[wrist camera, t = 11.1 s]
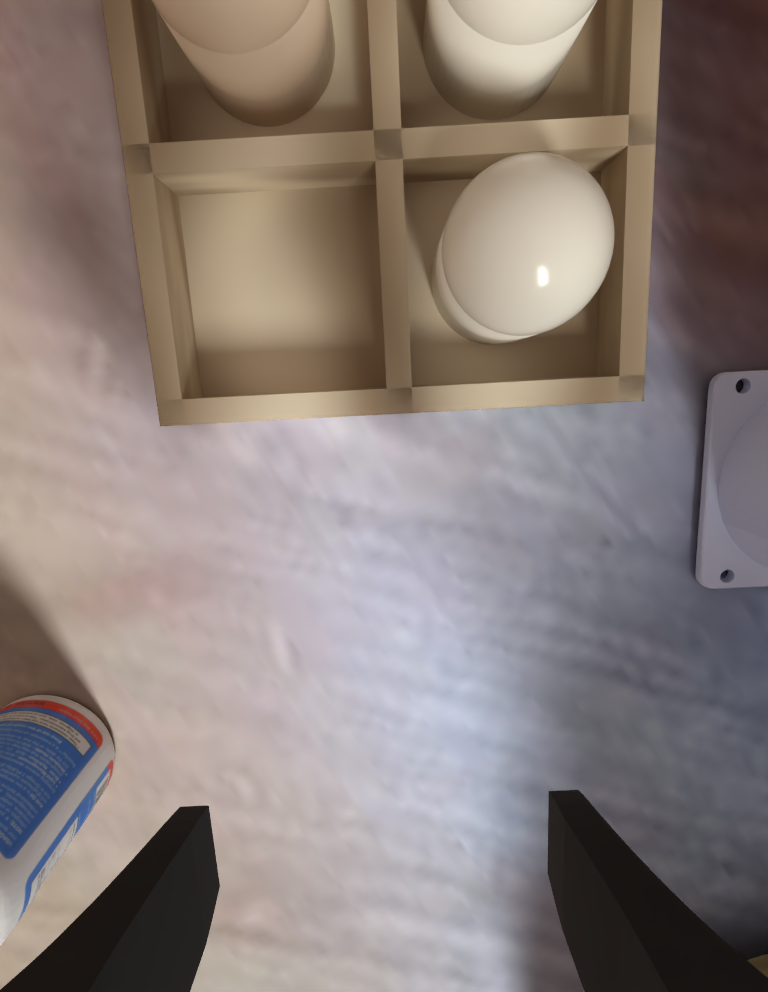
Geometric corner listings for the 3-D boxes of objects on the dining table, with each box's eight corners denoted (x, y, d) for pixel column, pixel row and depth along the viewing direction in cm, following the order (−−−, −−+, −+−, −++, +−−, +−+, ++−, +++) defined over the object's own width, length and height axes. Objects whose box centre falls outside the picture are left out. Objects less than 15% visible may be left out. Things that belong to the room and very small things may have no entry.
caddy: (629, -120, 17) (671, -206, 14) (611, 397, 20) (643, 400, 17) (123, -87, 17) (78, -166, 14) (187, 420, 20) (159, 426, 18)
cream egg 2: (558, 197, 18) (643, 105, 12) (564, 336, 19) (648, 315, 13) (423, 215, 18) (441, 133, 12) (437, 352, 19) (459, 339, 13)
